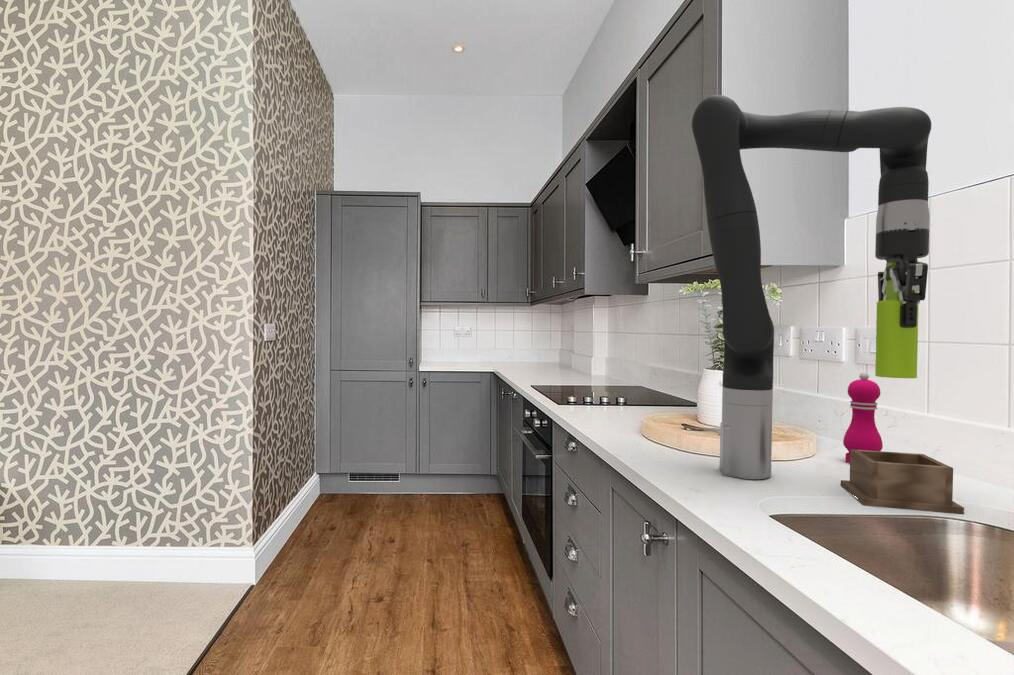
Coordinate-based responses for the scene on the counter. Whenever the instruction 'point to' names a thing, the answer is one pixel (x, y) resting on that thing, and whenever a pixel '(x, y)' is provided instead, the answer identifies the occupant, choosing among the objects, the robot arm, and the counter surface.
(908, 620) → the counter surface
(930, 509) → the box
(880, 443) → the pepper mill
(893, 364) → the soap dispenser
